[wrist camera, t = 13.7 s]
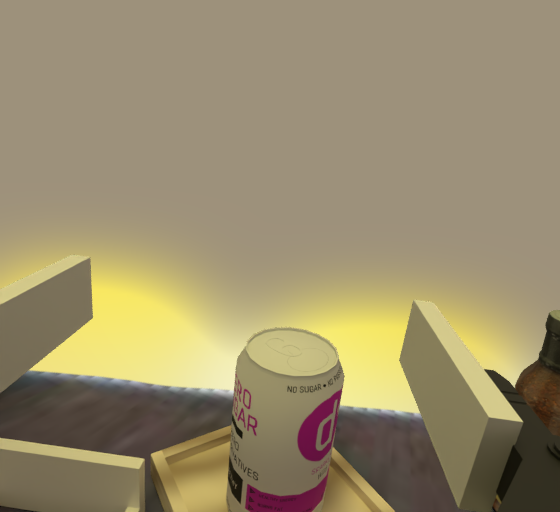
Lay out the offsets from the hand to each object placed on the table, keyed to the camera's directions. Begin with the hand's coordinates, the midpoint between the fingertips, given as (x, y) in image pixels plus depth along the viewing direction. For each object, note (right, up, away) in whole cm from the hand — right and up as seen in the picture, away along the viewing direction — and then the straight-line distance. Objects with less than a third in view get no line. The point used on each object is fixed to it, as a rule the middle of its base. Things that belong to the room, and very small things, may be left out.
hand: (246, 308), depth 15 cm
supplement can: (+1, -19, +17) cm, 26 cm away
